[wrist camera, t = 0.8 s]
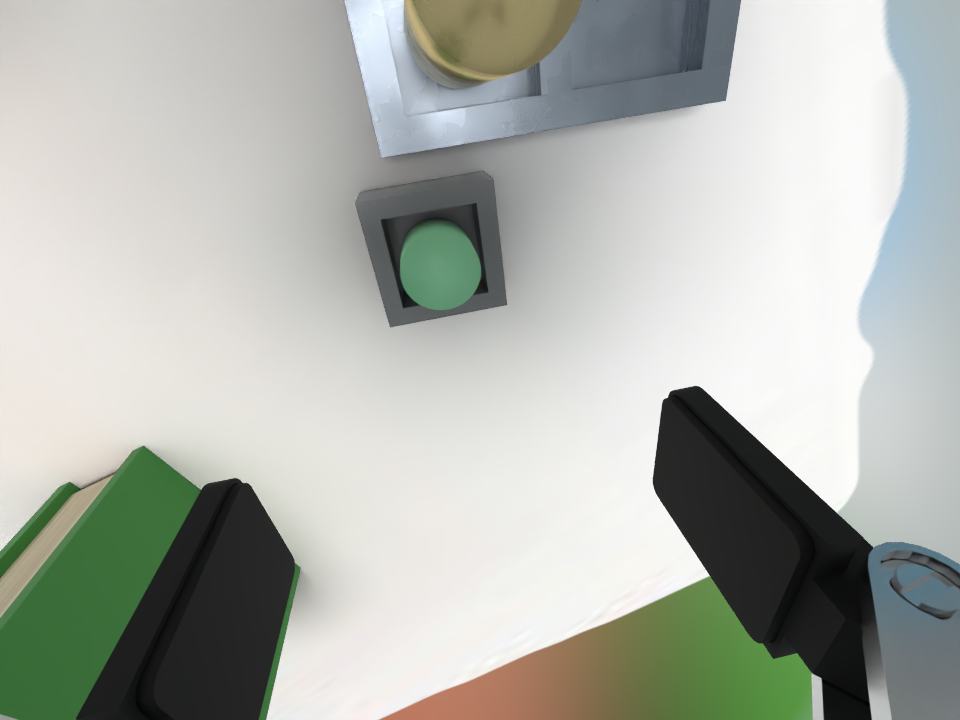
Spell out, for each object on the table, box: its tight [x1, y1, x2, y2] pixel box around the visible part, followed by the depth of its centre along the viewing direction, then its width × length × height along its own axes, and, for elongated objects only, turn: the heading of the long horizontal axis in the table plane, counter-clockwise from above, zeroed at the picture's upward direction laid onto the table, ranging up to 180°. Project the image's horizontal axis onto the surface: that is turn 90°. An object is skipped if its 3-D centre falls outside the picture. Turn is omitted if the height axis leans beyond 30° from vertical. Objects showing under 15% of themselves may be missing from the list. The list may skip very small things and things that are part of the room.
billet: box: [404, 0, 582, 89], centre depth 15 cm, size 5×5×10 cm
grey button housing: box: [355, 171, 507, 327], centre depth 24 cm, size 7×7×3 cm
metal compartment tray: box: [344, 0, 741, 158], centre depth 19 cm, size 18×10×3 cm, turn 98°
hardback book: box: [0, 446, 300, 720], centre depth 24 cm, size 18×7×24 cm, turn 24°
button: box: [400, 218, 481, 310], centre depth 22 cm, size 4×4×3 cm
